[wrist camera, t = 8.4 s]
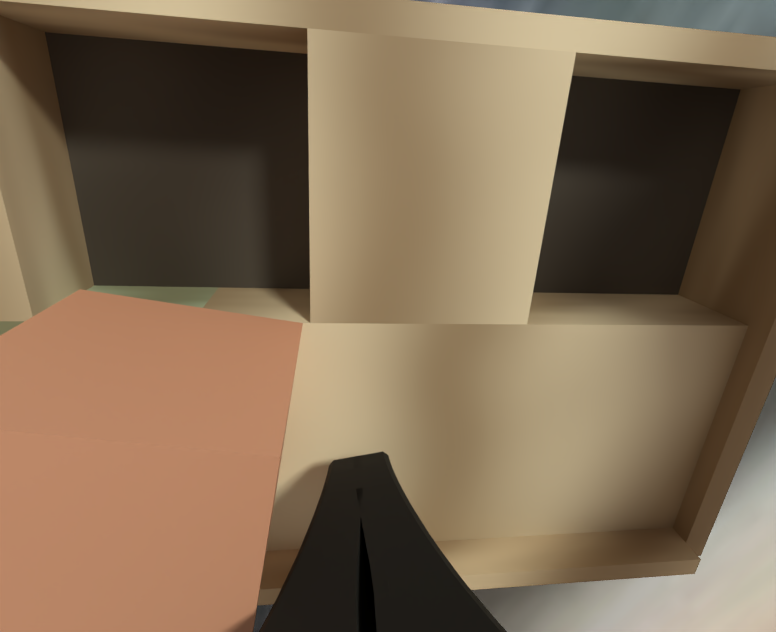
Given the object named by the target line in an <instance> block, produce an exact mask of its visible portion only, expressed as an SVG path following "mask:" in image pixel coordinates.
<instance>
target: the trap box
mask: <svg viewBox="0 0 776 632" xmlns="http://www.w3.org/2000/svg"><path fill="white" fill-rule="evenodd" d="M80 289H81V290H88V291H95V292H101V293H108V294H114V295H121V296H128V297H134V298H141V299H147V300H154V301H160V302H167V303H174V304H180V305H187V306H193V307H200V308H207V309H213V310H220V311H226V312H233V313H239V314H246V315H253V316H259V317H266V318H272V319H279V320H286V321H292V322H299V323H303V326H302V332H301V338H300V344H299V351H298V357H297V363H296V370H295V376H294V382H293V388H292V395H291V401H290V407H289V414H288V420H287V426H286V432H285V439H284V445H283V451H282V457H281V464H280V470H279V476H278V483H277V489H276V495H275V501H274V507H273V513H272V519H271V525H270V531H269V537H268V544H267V550H266V556H265V562H264V568H263V574H262V580H261V586H260V592H259V598H258V604H257V605H270V604H274V603H275V601H276V599H277V597H278V595H279V593H280V590H281V588H282V586H283V584H284V582H285V580H286V578H287V576H288V573H289V571H290V569H291V567H292V565H293V563H294V561H295V559H296V556H297V554H298V552H299V550H300V547H301V545H302V542H303V540H304V537H305V535H306V533H307V530H308V528H309V525H310V523H311V520H312V518H313V515H314V513H315V510H316V507H317V504H318V501H319V499H320V496H321V493H322V490H323V486H324V483H325V480H326V476H327V472H328V468H329V465H330V464H331V463H332V461H333V460H338V459H343V458H349V457H354V456H360V455H366V454H371V453H377V452H382V451H383V452H384V453H386V454H387V455H389V459H390V462H391V465H392V468H393V470H394V473H395V475H396V477H397V479H398V481H399V483H400V485H401V487H402V489H403V491H404V493H405V495H406V497H407V498H408V500H409V502H410V503H411V505H412V507H413V509H414V510H415V512H416V513H417V515H418V517H419V518H420V520H421V521H422V523H423V524H424V526H425V528H426V529H427V531H428V532H429V534H430V535H431V537H432V538H433V540H434V541H435V543H436V544H437V545H438V547H439V548H440V550H441V551H442V552H443V554H444V555H445V557H446V558H447V559H448V561H449V562H450V563H451V565H452V566H453V568H454V569H455V570H456V571H457V573H458V574H459V575H460V577H461V578H462V579H463V581H464V582H465V583H466V584H467V586H468V587H469V588H470V589H471V590H477V589H491V588H505V587H518V586H532V585H546V584H560V583H573V582H587V581H601V580H615V579H628V578H642V577H656V576H670V575H684V574H695V572H696V569H697V567H698V565H699V562H700V560H701V559H700V558H699V557H698V556H701V554H702V551H703V549H704V546H705V544H706V542H707V539H708V537H709V535H710V532H711V530H712V527H713V525H714V523H715V520H716V518H717V515H718V513H719V511H720V508H721V506H722V504H723V501H724V499H725V496H726V494H727V492H728V489H729V487H730V484H731V482H732V480H733V477H734V475H735V472H736V470H737V468H738V465H739V463H740V461H741V458H742V456H743V453H744V451H745V449H746V446H747V444H748V441H749V439H750V437H751V434H752V432H753V430H754V427H755V425H756V422H757V420H758V418H759V415H760V413H761V410H762V408H763V406H764V403H765V401H766V398H767V396H768V394H769V391H770V389H771V387H772V384H773V382H774V379H775V377H776V37H769V36H759V35H749V34H739V33H729V32H719V31H709V30H699V29H689V28H679V27H670V26H660V25H650V24H640V23H630V22H620V21H610V20H600V19H590V18H580V17H570V16H560V15H550V14H540V13H530V12H520V11H510V10H500V9H490V8H480V7H470V6H460V5H450V4H440V3H430V2H420V1H410V0H0V335H2V334H4V333H5V332H7V331H9V330H11V329H12V328H14V327H16V326H18V325H19V324H21V323H23V322H24V321H26V320H28V319H30V318H31V317H33V316H35V315H37V314H38V313H40V312H42V311H43V310H45V309H47V308H49V307H50V306H52V305H54V304H56V303H57V302H59V301H61V300H62V299H64V298H66V297H68V296H69V295H71V294H73V293H74V292H76V291H78V290H80Z"/></svg>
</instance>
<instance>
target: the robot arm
mask: <svg viewBox="0 0 776 632" xmlns="http://www.w3.org/2000/svg"><path fill="white" fill-rule="evenodd" d="M259 632H506V630H505V629H504V628H503V627H502V626H501V625H500V624H499V623H498V621H497V620H496V619H495V618H494V617H493V616H492V615H491V613H490V612H489V611H488V610H487V609H486V607H485V606H484V605H483V604H482V603H481V601H480V600H479V599H478V598H477V597H476V596H475V594H474V593H473V592H472V591H471V589H470V588H469V587H468V586H467V584H466V583H465V582H464V581H463V579H462V578H461V577H460V575H459V574H458V573H457V571H456V570H455V569H454V568H453V566H452V565H451V563H450V562H449V561H448V559H447V558H446V557H445V555H444V554H443V552H442V551H441V550H440V548H439V547H438V545H437V544H436V543H435V541H434V540H433V538H432V537H431V535H430V534H429V532H428V531H427V529H426V528H425V526H424V524H423V523H422V521H421V520H420V518H419V517H418V515H417V513H416V512H415V510H414V509H413V507H412V505H411V503H410V502H409V500H408V498H407V497H406V495H405V493H404V491H403V489H402V487H401V485H400V483H399V481H398V479H397V477H396V475H395V473H394V470H393V468H392V465H391V462H390V459H389V455H387V454H386V453H384V452H383V451H382V452H377V453H371V454H366V455H360V456H354V457H349V458H343V459H338V460H333V461H332V463H331V464H330V465H329V468H328V472H327V476H326V480H325V483H324V486H323V490H322V493H321V496H320V499H319V501H318V504H317V507H316V510H315V513H314V515H313V518H312V520H311V523H310V525H309V528H308V530H307V533H306V535H305V537H304V540H303V542H302V545H301V547H300V550H299V552H298V554H297V556H296V559H295V561H294V563H293V565H292V567H291V569H290V571H289V573H288V576H287V578H286V580H285V582H284V584H283V586H282V588H281V590H280V593H279V595H278V597H277V599H276V601H275V603H274V605H273V607H272V609H271V610H270V612H269V614H268V616H267V618H266V620H265V622H264V624H263V626H262V628H261V629H260V631H259Z"/></svg>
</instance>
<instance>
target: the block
mask: <svg viewBox="0 0 776 632" xmlns="http://www.w3.org/2000/svg"><path fill="white" fill-rule="evenodd" d="M302 326H303V323H299V322H292V321H286V320H279V319H272V318H266V317H259V316H253V315H246V314H239V313H233V312H226V311H220V310H213V309H207V308H200V307H193V306H187V305H180V304H174V303H167V302H160V301H154V300H147V299H141V298H134V297H128V296H121V295H114V294H108V293H101V292H95V291H88V290H81V289H80V290H78V291H76V292H74V293H73V294H71V295H69V296H68V297H66V298H64V299H62V300H61V301H59V302H57V303H56V304H54V305H52V306H50V307H49V308H47V309H45V310H43V311H42V312H40V313H38V314H37V315H35V316H33V317H31V318H30V319H28V320H26V321H24V322H23V323H21V324H19V325H18V326H16V327H14V328H12V329H11V330H9V331H7V332H5V333H4V334H2V335H0V632H253V629H254V623H255V617H256V611H257V604H258V598H259V592H260V586H261V580H262V574H263V568H264V562H265V556H266V550H267V544H268V537H269V531H270V525H271V519H272V513H273V507H274V501H275V495H276V489H277V483H278V476H279V470H280V464H281V457H282V451H283V445H284V439H285V432H286V426H287V420H288V414H289V407H290V401H291V395H292V388H293V382H294V376H295V370H296V363H297V357H298V351H299V344H300V338H301V332H302Z"/></svg>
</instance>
